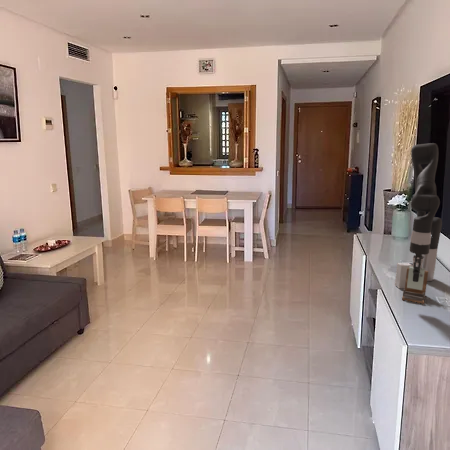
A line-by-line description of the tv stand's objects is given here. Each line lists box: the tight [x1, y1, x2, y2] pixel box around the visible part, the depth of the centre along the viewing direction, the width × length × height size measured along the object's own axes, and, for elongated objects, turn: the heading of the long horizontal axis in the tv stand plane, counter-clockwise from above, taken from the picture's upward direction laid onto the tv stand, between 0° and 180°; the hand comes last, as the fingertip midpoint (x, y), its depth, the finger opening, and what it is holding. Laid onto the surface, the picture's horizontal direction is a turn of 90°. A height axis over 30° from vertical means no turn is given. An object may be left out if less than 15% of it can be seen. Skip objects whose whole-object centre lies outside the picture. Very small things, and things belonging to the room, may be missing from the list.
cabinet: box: [401, 268, 428, 305], centre depth 188 cm, size 12×9×12 cm
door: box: [407, 266, 425, 290], centre depth 175 cm, size 3×6×9 cm, turn 62°
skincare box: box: [394, 262, 413, 289], centre depth 201 cm, size 6×4×12 cm
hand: (415, 280), depth 176 cm, fingers closed on door, 2 cm apart
